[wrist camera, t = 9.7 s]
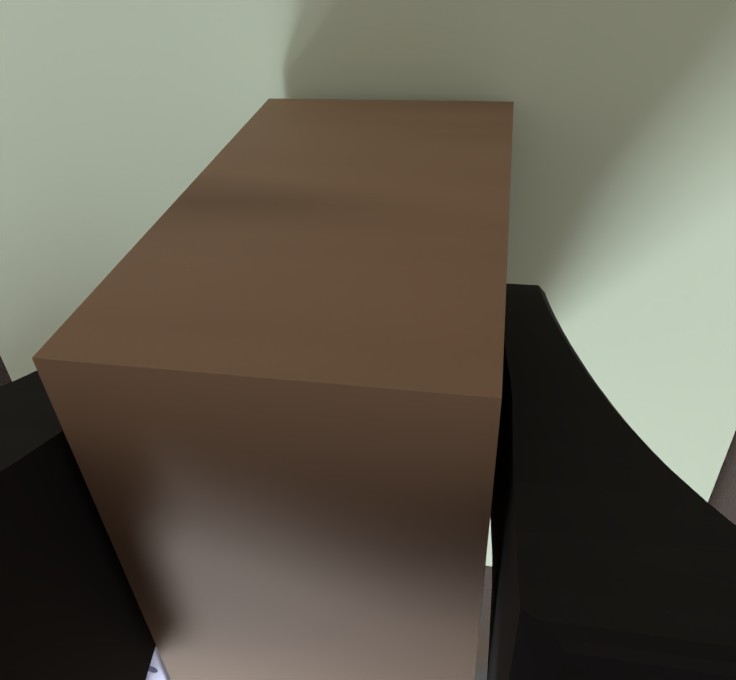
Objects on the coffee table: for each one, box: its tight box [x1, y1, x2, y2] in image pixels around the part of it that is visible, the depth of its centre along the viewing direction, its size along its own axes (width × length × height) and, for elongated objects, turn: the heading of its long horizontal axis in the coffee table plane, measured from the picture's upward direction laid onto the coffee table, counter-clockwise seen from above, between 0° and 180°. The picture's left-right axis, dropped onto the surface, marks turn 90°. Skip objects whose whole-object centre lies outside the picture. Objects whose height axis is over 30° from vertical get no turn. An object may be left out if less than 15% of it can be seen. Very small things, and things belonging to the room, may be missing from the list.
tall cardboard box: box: [32, 98, 514, 680], centre depth 10 cm, size 6×4×7 cm, turn 2°
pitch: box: [0, 0, 736, 566], centre depth 11 cm, size 24×17×4 cm
